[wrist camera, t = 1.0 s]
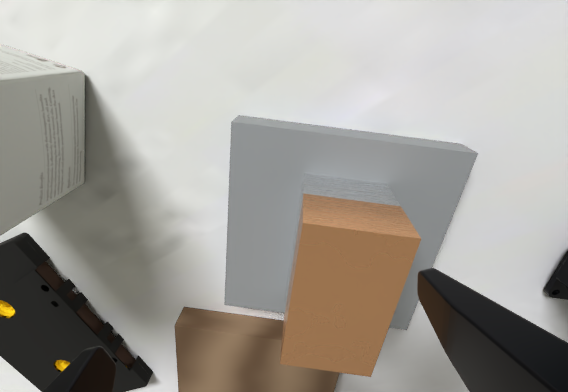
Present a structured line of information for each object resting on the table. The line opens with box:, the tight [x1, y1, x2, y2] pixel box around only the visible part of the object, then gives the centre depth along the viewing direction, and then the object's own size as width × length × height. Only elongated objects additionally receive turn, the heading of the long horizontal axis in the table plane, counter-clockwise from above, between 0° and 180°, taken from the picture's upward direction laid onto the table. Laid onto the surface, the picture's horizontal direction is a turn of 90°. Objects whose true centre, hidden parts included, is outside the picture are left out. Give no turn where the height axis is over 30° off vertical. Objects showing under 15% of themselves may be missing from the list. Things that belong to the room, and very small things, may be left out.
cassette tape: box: [0, 233, 153, 392], centre depth 28 cm, size 18×12×2 cm, turn 24°
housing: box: [280, 173, 421, 377], centre depth 17 cm, size 5×9×6 cm, turn 174°
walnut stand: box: [175, 307, 339, 392], centre depth 28 cm, size 14×14×2 cm
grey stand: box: [225, 115, 478, 330], centre depth 21 cm, size 14×14×2 cm
